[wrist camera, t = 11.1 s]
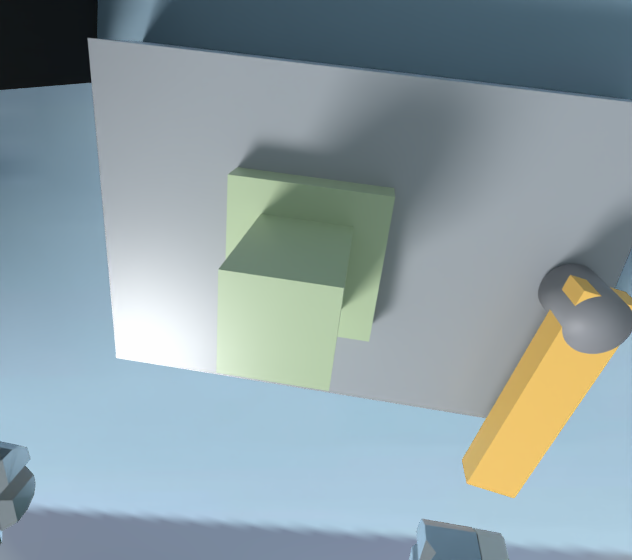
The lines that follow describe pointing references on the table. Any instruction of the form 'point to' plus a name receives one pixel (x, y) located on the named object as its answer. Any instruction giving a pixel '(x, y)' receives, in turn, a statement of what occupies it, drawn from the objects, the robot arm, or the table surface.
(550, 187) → the grey flat block
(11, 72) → the electrical component
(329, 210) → the plug
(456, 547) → the robot arm
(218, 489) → the table surface
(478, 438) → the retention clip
